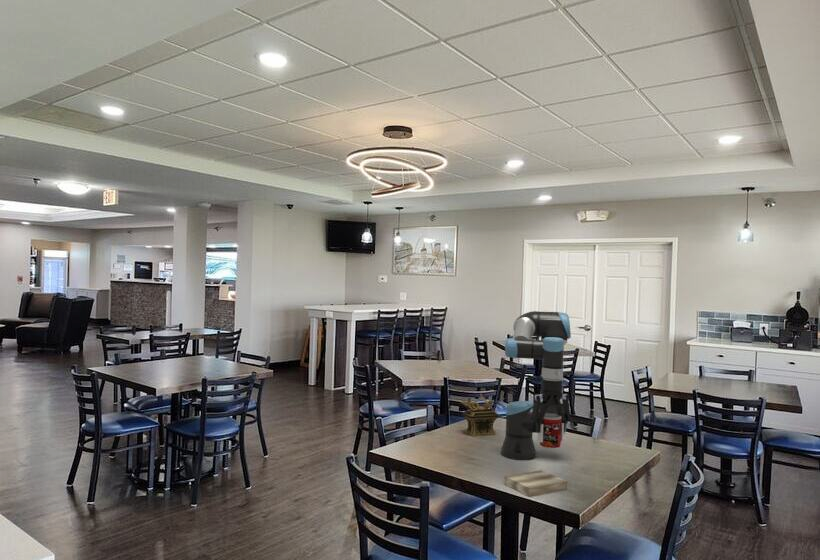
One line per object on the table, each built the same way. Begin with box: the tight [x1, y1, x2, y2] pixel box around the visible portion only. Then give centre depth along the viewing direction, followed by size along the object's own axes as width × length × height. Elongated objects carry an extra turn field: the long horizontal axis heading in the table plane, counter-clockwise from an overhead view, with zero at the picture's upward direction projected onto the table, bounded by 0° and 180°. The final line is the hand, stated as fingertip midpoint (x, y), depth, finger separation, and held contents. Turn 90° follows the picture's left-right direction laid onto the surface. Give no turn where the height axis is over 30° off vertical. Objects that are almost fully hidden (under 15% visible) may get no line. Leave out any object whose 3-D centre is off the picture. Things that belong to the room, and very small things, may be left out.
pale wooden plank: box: [503, 469, 568, 498], centre depth 206 cm, size 14×18×3 cm
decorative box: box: [460, 393, 500, 437], centre depth 281 cm, size 20×10×20 cm, turn 111°
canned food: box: [539, 413, 562, 449], centre depth 207 cm, size 8×8×11 cm
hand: (550, 440), depth 207 cm, fingers closed on canned food, 8 cm apart
